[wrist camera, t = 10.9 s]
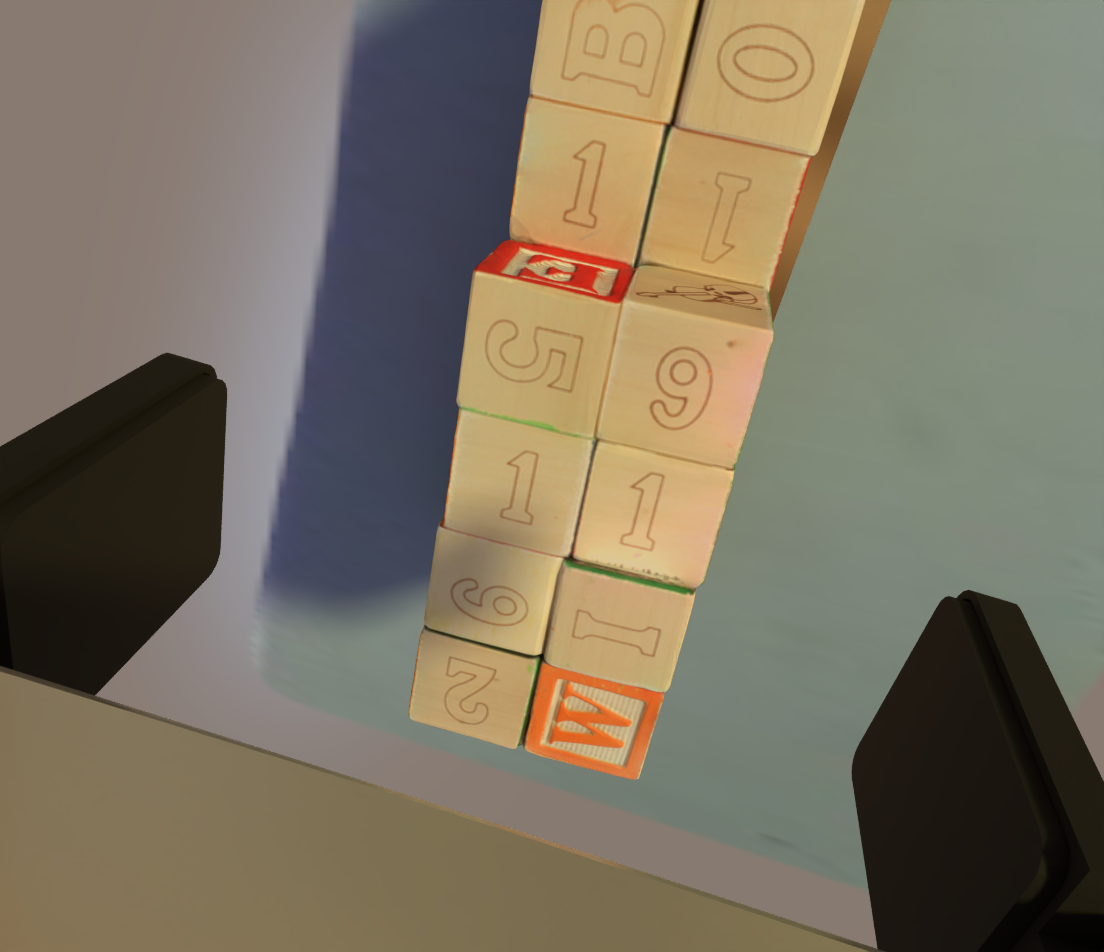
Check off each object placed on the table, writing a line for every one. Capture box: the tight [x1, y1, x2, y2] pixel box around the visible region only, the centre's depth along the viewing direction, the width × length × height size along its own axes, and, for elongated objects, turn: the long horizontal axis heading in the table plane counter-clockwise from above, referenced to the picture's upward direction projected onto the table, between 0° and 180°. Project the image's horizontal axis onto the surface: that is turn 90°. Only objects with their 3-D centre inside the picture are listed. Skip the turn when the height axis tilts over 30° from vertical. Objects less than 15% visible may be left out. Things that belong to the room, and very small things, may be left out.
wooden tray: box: [769, 0, 891, 322], centre depth 30 cm, size 27×9×3 cm, turn 166°
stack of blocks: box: [409, 0, 865, 779], centre depth 23 cm, size 21×6×12 cm, turn 169°
